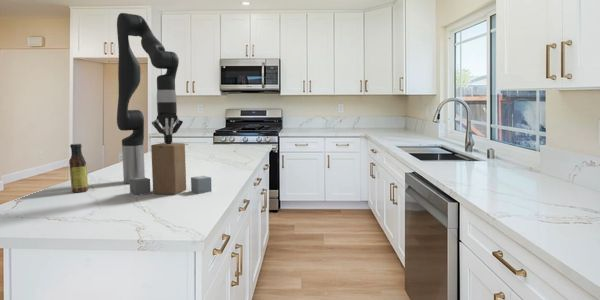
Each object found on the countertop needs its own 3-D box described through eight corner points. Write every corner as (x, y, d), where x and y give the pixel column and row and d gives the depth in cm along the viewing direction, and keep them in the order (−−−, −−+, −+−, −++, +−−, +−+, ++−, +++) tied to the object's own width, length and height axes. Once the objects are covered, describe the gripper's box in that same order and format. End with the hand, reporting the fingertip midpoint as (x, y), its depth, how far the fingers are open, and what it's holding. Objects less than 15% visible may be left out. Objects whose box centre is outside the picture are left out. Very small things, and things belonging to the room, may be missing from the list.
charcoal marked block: (130, 193, 174) (129, 178, 173) (144, 191, 178) (143, 176, 178) (136, 195, 170) (135, 180, 169) (150, 193, 174) (150, 178, 173)
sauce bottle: (91, 190, 179) (88, 143, 177) (78, 193, 174) (75, 144, 171) (80, 189, 182) (78, 142, 180) (67, 192, 176) (64, 144, 174)
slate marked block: (191, 191, 178) (190, 176, 177) (204, 189, 182) (203, 174, 181) (198, 193, 173) (198, 178, 172) (211, 191, 177) (211, 176, 177)
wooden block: (175, 195, 171) (173, 145, 168) (152, 194, 173) (150, 144, 170) (186, 190, 180) (185, 143, 178) (165, 189, 182) (163, 142, 180)
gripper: (177, 101, 179) (178, 142, 181) (146, 101, 170) (148, 144, 172) (186, 101, 174) (187, 143, 176) (154, 101, 165) (156, 145, 167)
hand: (168, 143), depth 174 cm, fingers closed
